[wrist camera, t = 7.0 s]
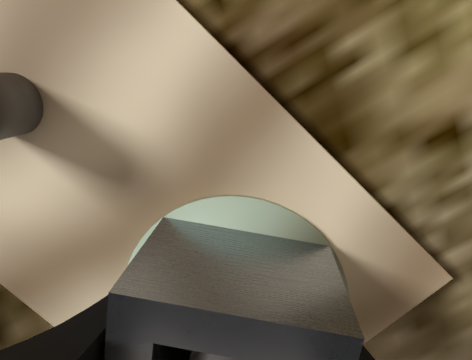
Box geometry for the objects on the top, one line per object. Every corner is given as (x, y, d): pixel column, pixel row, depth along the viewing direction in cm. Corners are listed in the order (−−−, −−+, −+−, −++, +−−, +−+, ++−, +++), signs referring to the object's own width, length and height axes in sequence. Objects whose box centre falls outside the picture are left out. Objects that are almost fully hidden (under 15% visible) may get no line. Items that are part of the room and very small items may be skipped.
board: (-150, 134, 14) (-402, 169, 9) (24, -154, 11) (-199, -365, 6) (216, 432, 16) (192, 600, 11) (439, 264, 13) (550, 385, 8)
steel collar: (148, 354, 14) (96, 478, 10) (163, 216, 12) (108, 292, 8) (296, 381, 14) (310, 521, 9) (329, 245, 12) (364, 339, 8)
